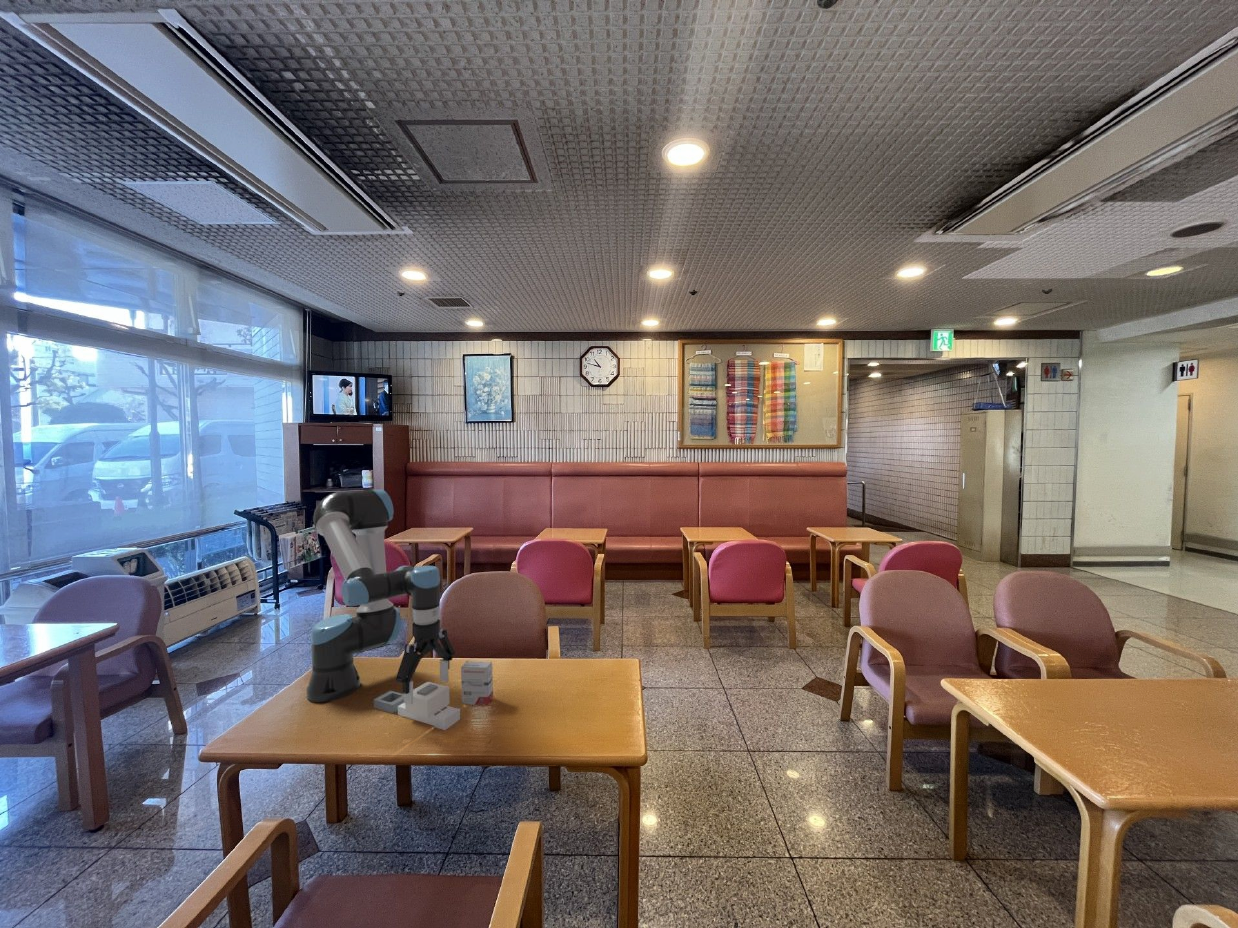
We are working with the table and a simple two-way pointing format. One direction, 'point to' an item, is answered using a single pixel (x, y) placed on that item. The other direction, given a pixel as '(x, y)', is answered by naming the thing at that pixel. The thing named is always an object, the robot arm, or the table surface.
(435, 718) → the socket
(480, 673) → the ink box
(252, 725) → the table surface
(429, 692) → the plug
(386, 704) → the plug rest
